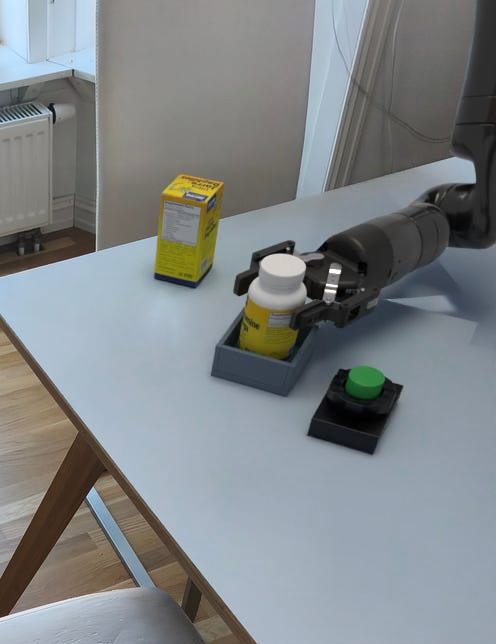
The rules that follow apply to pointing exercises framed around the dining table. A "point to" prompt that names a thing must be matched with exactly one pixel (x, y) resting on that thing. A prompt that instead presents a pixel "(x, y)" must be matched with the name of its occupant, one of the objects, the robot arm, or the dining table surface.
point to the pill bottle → (273, 307)
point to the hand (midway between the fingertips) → (263, 303)
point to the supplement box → (188, 229)
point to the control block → (354, 415)
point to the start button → (364, 382)
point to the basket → (262, 361)
